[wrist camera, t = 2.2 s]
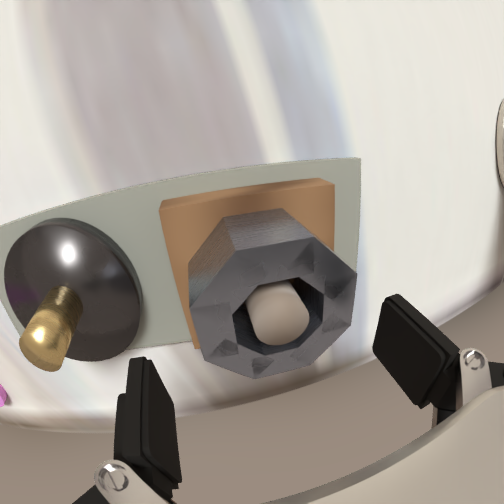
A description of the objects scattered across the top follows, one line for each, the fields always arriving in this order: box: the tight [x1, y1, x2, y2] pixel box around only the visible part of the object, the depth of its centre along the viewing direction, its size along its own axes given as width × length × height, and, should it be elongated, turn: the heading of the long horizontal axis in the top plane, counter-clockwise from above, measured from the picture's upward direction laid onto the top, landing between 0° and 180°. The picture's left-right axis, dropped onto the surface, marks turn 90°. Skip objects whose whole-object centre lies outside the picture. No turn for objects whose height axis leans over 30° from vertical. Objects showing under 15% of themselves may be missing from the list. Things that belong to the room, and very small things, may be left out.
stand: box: [158, 178, 335, 349], centre depth 14 cm, size 9×9×6 cm
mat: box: [0, 158, 361, 350], centre depth 16 cm, size 27×11×1 cm, turn 96°
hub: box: [4, 218, 143, 372], centre depth 13 cm, size 10×10×6 cm
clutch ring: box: [188, 208, 357, 379], centre depth 13 cm, size 7×7×4 cm
